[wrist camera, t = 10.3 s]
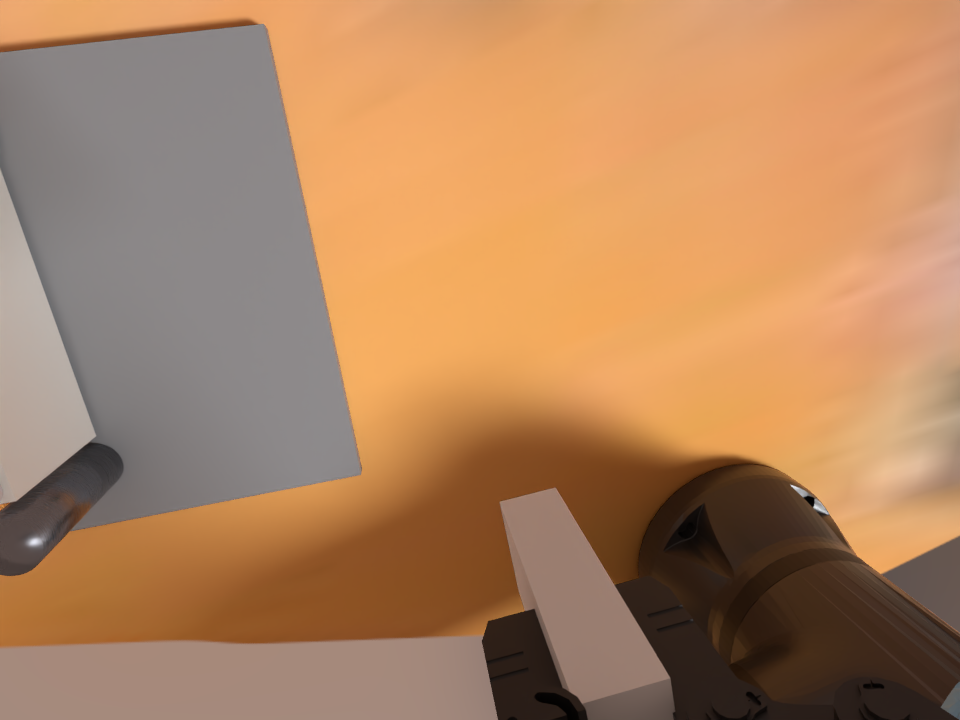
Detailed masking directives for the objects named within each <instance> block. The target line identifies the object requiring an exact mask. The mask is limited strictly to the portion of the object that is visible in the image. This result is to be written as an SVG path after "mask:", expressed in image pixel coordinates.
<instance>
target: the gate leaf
mask: <svg viewBox="0 0 960 720" xmlns="http://www.w3.org/2000/svg"><path fill="white" fill-rule="evenodd" d="M95 437H96V434H95V431H94V428H93V426H92V423H91V420H90V417H89V415H88V412H87V409H86V406H85V403H84V401H83V398H82V395H81V392H80V389H79V387H78V384H77V381H76V378H75V376H74V373H73V370H72V367H71V364H70V362H69V359H68V356H67V353H66V350H65V348H64V345H63V342H62V339H61V336H60V334H59V331H58V328H57V325H56V323H55V320H54V317H53V314H52V311H51V309H50V306H49V303H48V300H47V297H46V295H45V292H44V289H43V286H42V284H41V281H40V278H39V275H38V272H37V270H36V267H35V264H34V261H33V258H32V256H31V253H30V250H29V247H28V244H27V242H26V239H25V236H24V233H23V231H22V228H21V225H20V222H19V219H18V217H17V214H16V211H15V208H14V205H13V203H12V200H11V197H10V194H9V192H8V189H7V186H6V183H5V180H4V178H3V175H2V172H1V169H0V504H4V503H9V502H14V501H17V500H19V499H20V498H21V497H22V496H23V495H25V494H26V493H27V492H28V491H30V490H31V489H32V488H33V487H34V486H36V485H37V484H38V483H39V482H41V481H42V480H43V479H44V478H46V477H47V476H48V475H49V474H50V473H52V472H53V471H54V470H55V469H57V468H58V467H59V466H60V465H61V464H63V463H64V462H65V461H66V460H68V459H69V458H70V457H71V456H73V455H74V454H75V453H76V452H77V451H79V450H80V449H81V448H82V447H84V446H85V445H86V444H87V443H88V442H90V441H91V440H92V439H93V438H95Z"/></svg>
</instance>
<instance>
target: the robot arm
mask: <svg viewBox="0 0 960 720" xmlns="http://www.w3.org/2000/svg"><path fill="white" fill-rule="evenodd" d="M500 507H501V511H502V516H503V521H504V525H505V530H506V535H507V539H508V544H509V549H510V553H511V558H512V563H513V567H514V572H515V576H516V581H517V586H518V590H519V594H520V597H521V600H522V603H523V606H524V609H525V611H524V612H520V613H517V614H513V615H509V616H506V617H502V618H498V619H495V620H491V621H488V623H487V627H486V630H485V633H484V636H483V640H482V644H483V648H484V653H485V658H486V663H487V668H488V673H489V678H490V682H491V687H492V692H493V697H494V702H495V706H496V711H497V716H498V720H960V633H959V632H958V631H956V630H955V629H954V628H952V627H951V626H949V625H948V624H947V623H946V622H944V621H943V620H941V619H940V618H939V617H938V616H936V615H935V614H934V613H932V612H931V611H930V610H928V609H927V608H925V607H924V606H923V605H922V604H920V603H919V602H917V601H916V600H915V599H913V598H912V597H911V596H909V595H908V594H907V593H905V592H904V591H903V590H901V589H900V588H899V587H897V586H896V585H894V584H893V583H892V582H891V581H889V580H888V579H886V578H885V577H884V576H882V575H881V574H880V573H878V572H877V571H876V570H874V569H873V568H872V567H870V566H869V565H868V564H866V563H865V562H864V561H863V560H861V559H860V558H859V557H857V555H856V554H855V552H854V551H853V549H852V548H851V546H850V545H849V543H848V542H847V540H846V539H845V537H844V536H843V534H842V533H841V531H840V529H839V528H838V526H837V525H836V523H835V522H834V520H833V519H832V517H831V516H830V515H829V513H828V511H827V510H826V508H825V507H824V506H823V504H822V503H821V502H820V501H819V499H818V498H817V497H816V496H815V495H814V494H813V493H811V492H810V491H809V490H808V489H806V488H805V487H804V486H802V485H801V484H799V483H798V482H796V481H795V480H794V479H792V478H791V477H789V476H788V475H786V474H784V473H782V472H780V471H778V470H776V469H773V468H770V467H766V466H761V465H752V464H741V465H732V466H727V467H723V468H719V469H716V470H713V471H710V472H708V473H705V474H703V475H701V476H699V477H697V478H696V479H694V480H692V481H690V482H689V483H687V484H686V485H685V486H683V487H682V488H680V489H679V490H678V491H677V492H676V493H674V494H673V495H672V496H671V497H670V498H669V499H668V500H667V501H666V502H665V503H664V505H663V506H662V507H661V508H660V510H659V511H658V512H657V514H656V515H655V517H654V518H653V520H652V521H651V523H650V525H649V527H648V529H647V531H646V533H645V536H644V539H643V542H642V545H641V549H640V554H639V563H638V573H639V578H638V579H635V580H631V581H627V582H624V583H620V584H616V585H614V584H613V582H612V580H611V579H610V577H609V575H608V574H607V572H606V570H605V569H604V567H603V565H602V564H601V562H600V560H599V559H598V557H597V555H596V554H595V552H594V550H593V549H592V547H591V545H590V544H589V542H588V540H587V539H586V537H585V535H584V534H583V532H582V530H581V529H580V527H579V525H578V524H577V522H576V520H575V519H574V517H573V515H572V514H571V512H570V510H569V509H568V507H567V505H566V504H565V502H564V501H563V499H562V497H561V496H560V494H559V492H558V491H557V489H556V487H555V488H551V489H547V490H543V491H539V492H536V493H532V494H528V495H524V496H520V497H516V498H512V499H508V500H504V501H500Z"/></svg>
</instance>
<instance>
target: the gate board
mask: <svg viewBox="0 0 960 720" xmlns="http://www.w3.org/2000/svg"><path fill="white" fill-rule="evenodd" d="M0 169H1V172H2V175H3V178H4V180H5V183H6V186H7V189H8V192H9V194H10V197H11V200H12V203H13V205H14V208H15V211H16V214H17V217H18V219H19V222H20V225H21V228H22V231H23V233H24V236H25V239H26V242H27V244H28V247H29V250H30V253H31V256H32V258H33V261H34V264H35V267H36V270H37V272H38V275H39V278H40V281H41V284H42V286H43V289H44V292H45V295H46V297H47V300H48V303H49V306H50V309H51V311H52V314H53V317H54V320H55V323H56V325H57V328H58V331H59V334H60V336H61V339H62V342H63V345H64V348H65V350H66V353H67V356H68V359H69V362H70V364H71V367H72V370H73V373H74V376H75V378H76V381H77V384H78V387H79V389H80V392H81V395H82V398H83V401H84V403H85V406H86V409H87V412H88V415H89V417H90V420H91V423H92V426H93V428H94V431H95V434H96V437H95V438H93V439H92V440H91V441H90V442H88V443H87V444H89V443H100V444H104V445H107V446H109V447H111V448H113V449H114V450H115V451H116V452H117V453H118V454H119V455H120V457H121V458H122V461H123V465H124V470H123V473H122V476H121V478H120V479H119V480H118V481H117V482H116V483H115V484H114V485H113V486H112V487H111V488H110V489H109V490H108V492H107V493H106V494H105V495H104V496H103V497H102V498H101V499H100V500H99V501H98V502H97V503H96V504H95V505H94V506H93V507H92V508H91V509H90V510H89V511H88V512H87V514H86V515H85V516H84V517H83V518H82V519H81V520H80V521H79V522H78V523H77V524H76V525H75V526H74V527H73V528H72V529H71V530H70V531H74V530H79V529H85V528H90V527H95V526H100V525H105V524H110V523H115V522H121V521H126V520H131V519H136V518H141V517H146V516H151V515H157V514H162V513H167V512H172V511H177V510H182V509H187V508H193V507H198V506H203V505H208V504H213V503H218V502H224V501H229V500H234V499H239V498H244V497H249V496H254V495H260V494H265V493H270V492H275V491H280V490H285V489H290V488H296V487H301V486H306V485H311V484H316V483H321V482H326V481H332V480H337V479H342V478H347V477H352V476H357V475H361V471H362V467H361V463H360V458H359V453H358V449H357V444H356V439H355V435H354V430H353V425H352V421H351V416H350V411H349V407H348V402H347V397H346V393H345V388H344V383H343V379H342V374H341V370H340V365H339V360H338V356H337V351H336V346H335V342H334V337H333V332H332V328H331V323H330V318H329V314H328V309H327V304H326V300H325V295H324V290H323V286H322V281H321V276H320V272H319V267H318V263H317V258H316V253H315V249H314V244H313V239H312V235H311V230H310V225H309V221H308V216H307V211H306V207H305V202H304V197H303V193H302V188H301V183H300V179H299V174H298V169H297V165H296V160H295V156H294V151H293V146H292V142H291V137H290V132H289V128H288V123H287V118H286V114H285V109H284V104H283V100H282V95H281V90H280V86H279V81H278V76H277V72H276V67H275V62H274V58H273V53H272V49H271V44H270V39H269V35H268V30H267V28H266V26H265V25H264V24H259V25H249V26H240V27H231V28H222V29H212V30H203V31H194V32H185V33H175V34H166V35H157V36H148V37H138V38H129V39H120V40H111V41H102V42H92V43H83V44H74V45H65V46H55V47H46V48H37V49H28V50H18V51H9V52H0ZM10 503H11V502H10Z"/></svg>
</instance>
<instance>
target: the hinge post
mask: <svg viewBox="0 0 960 720" xmlns="http://www.w3.org/2000/svg"><path fill="white" fill-rule="evenodd" d="M123 470H124V465H123V461H122V458H121V457H120V455H119V454H118V453H117V452H116V451H115V450H114V449H113V448H111V447H109V446H107V445H104V444H100V443H89V444H86V445H85V446H84V447H82V448H81V449H80V450H79V451H77V452H76V453H75V454H74V455H73V456H71V457H70V458H69V459H68V460H66V461H65V462H64V463H63V464H61V465H60V466H59V467H58V468H57V469H55V470H54V471H53V472H52V473H50V474H49V475H48V476H47V477H46V478H44V479H43V480H42V481H41V482H39V483H38V484H37V485H36V486H34V487H33V488H32V489H31V490H30V491H28V492H27V493H26V494H25V495H23V496H22V497H21V498H20V499H19V500H17V501H14V502H11V503H10V504H8V505H7V506H6V507H5V508H3V509H2V510H1V511H0V575H5V576H15V575H21V574H24V573H27V572H29V571H31V570H32V569H33V568H35V567H36V566H37V565H38V564H39V563H40V562H41V561H42V560H43V559H44V557H45V556H46V555H47V554H48V553H49V552H50V551H51V550H52V549H53V548H54V547H55V546H56V545H57V544H58V543H59V542H60V541H61V540H62V539H63V538H64V537H65V536H66V534H67V533H68V532H69V531H70V530H71V529H72V528H73V527H74V526H75V525H76V524H77V523H78V522H79V521H80V520H81V519H82V518H83V517H84V516H85V515H86V514H87V512H88V511H89V510H90V509H91V508H92V507H93V506H94V505H95V504H96V503H97V502H98V501H99V500H100V499H101V498H102V497H103V496H104V495H105V494H106V493H107V492H108V490H109V489H110V488H111V487H112V486H113V485H114V484H115V483H116V482H117V481H118V480H119V479H120V478H121V476H122V473H123Z"/></svg>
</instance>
